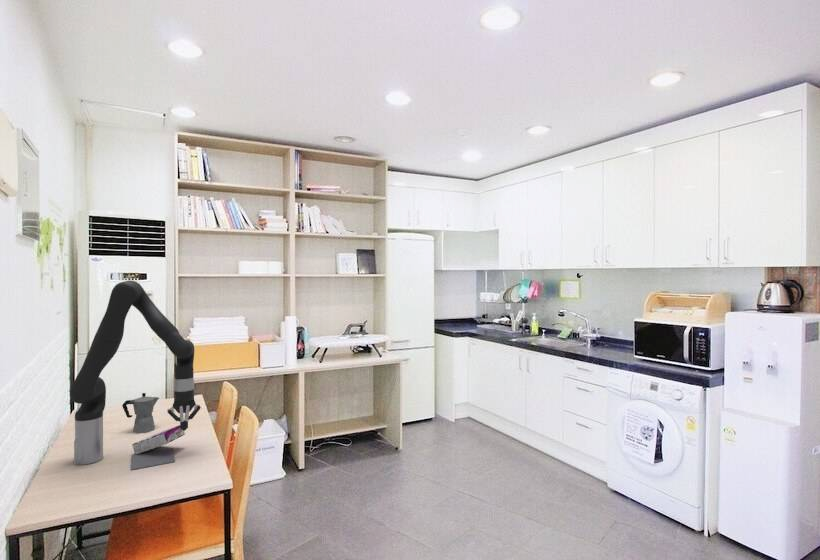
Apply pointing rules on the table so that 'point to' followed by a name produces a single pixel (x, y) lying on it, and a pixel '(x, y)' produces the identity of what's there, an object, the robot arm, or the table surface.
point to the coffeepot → (142, 413)
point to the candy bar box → (157, 439)
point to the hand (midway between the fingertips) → (184, 429)
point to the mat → (152, 459)
